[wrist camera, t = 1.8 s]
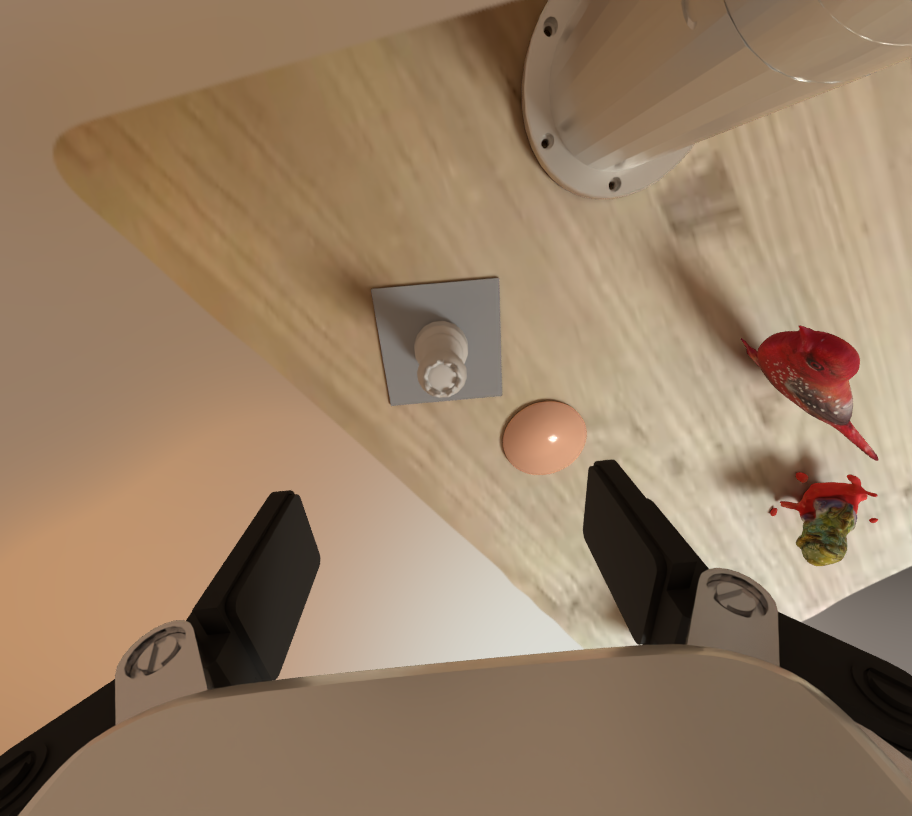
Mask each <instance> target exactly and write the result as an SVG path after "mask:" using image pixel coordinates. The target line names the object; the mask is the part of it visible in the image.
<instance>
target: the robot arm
mask: <svg viewBox="0 0 912 816" xmlns="http://www.w3.org/2000/svg"><path fill="white" fill-rule="evenodd" d="M544 30H548V31H549V32H550V37H548V36H546V35H545V33H544ZM909 58H912V0H548V2H547V4H546V6H545V7H544V9H543V11H542V13H541V15H540V17H539V20H538V22H537V24H536V27H535V29H534V31H533V34H532V37H531V40H530V44H529V47H528V51H527V54H526V57H525V63H524V70H523V77H522V112H523V119H524V125H525V130H526V133H527V136H528V139H529V142H530V145H531V148H532V150H533V152H534V154H535V156H536V158H537V160H538V161H539V163H540V165H541V166H542V168H543V169H544V170H545V171H546V172H547V174H548V175H549V176H550V177H551V178H552V179H553V180H554V181H555V182H556V183H558V184H559V185H560V186H562V187H563V188H564V189H565V190H568V191H570V192H572V193H574V194H576V195H578V196H581V197H586V198H591V199H614V198H618V197H623V196H627V195H630V194H633V193H636V192H638V191H641V190H644V189H645V188H647V187H649V186H650V185H652V184H654V183H656V182H657V181H659V180H660V179H662V178H663V177H664V176H665V175H666V174H668V173H669V172H670V171H671V170H672V169H674V168H675V167H676V166H677V165H678V164H679V163H680V161H681V160H682V159H683V158H684V157H685V156H686V155H687V154H688V152H689V151H690V150H691V149H692V147H693V146H694V144H695V143H697V142H700V141H703V140H705V139H708V138H710V137H713V136H715V135H718V134H720V133H723V132H725V131H728V130H731V129H733V128H736V127H738V126H741V125H743V124H746V123H748V122H751V121H754V120H756V119H759V118H761V117H764V116H766V115H769V114H771V113H774V112H777V111H779V110H782V109H784V108H787V107H789V106H792V105H794V104H797V103H800V102H802V101H805V100H807V99H810V98H812V97H815V96H817V95H820V94H822V93H825V92H828V91H830V90H833V89H835V88H838V87H840V86H843V85H845V84H848V83H851V82H853V81H856V80H858V79H861V78H863V77H866V76H868V75H871V74H873V73H875V72H877V71H879V70H882V69H884V68H887V67H889V66H892V65H894V64H897V63H899V62H902V61H904V60H907V59H909ZM543 140H544V141H546V142H547V148H543V147H542V146H541V142H542V141H543ZM609 182H611V183H612V189H611V190H610V189H609ZM583 534H584V538H585V541H586V543H587V545H588V547H589V549H590V551H591V553H592V555H593V557H594V559H595V561H596V563H597V565H598V567H599V570H600V572H601V574H602V576H603V578H604V580H605V582H606V584H607V586H608V588H609V590H610V592H611V594H612V596H613V598H614V600H615V602H616V604H617V606H618V608H619V610H620V612H621V614H622V616H623V618H624V620H625V622H626V624H627V626H628V628H629V630H630V632H631V635H632V637H633V638H634V640H635V642H636V643H637V644H639V645H638V646H625V647H611V648H597V649H584V650H574V651H563V652H553V653H541V654H530V655H520V656H510V657H497V658H487V659H477V660H466V661H457V662H446V663H436V664H425V665H415V666H406V667H395V668H385V669H376V670H366V671H356V672H346V673H337V674H327V675H318V676H309V677H298V678H290V679H282V680H276V678H277V677H278V676H279V674H280V671H281V669H282V666H283V663H284V661H285V658H286V655H287V652H288V650H289V647H290V644H291V642H292V639H293V636H294V633H295V631H296V628H297V625H298V622H299V620H300V617H301V615H302V612H303V609H304V606H305V604H306V601H307V598H308V596H309V593H310V590H311V587H312V585H313V582H314V579H315V577H316V574H317V571H318V569H319V565H320V554H319V551H318V548H317V545H316V542H315V539H314V536H313V533H312V530H311V527H310V525H309V521H308V519H307V516H306V513H305V510H304V507H303V504H302V501H301V498H300V496H299V495H297V494H294V492H293V491H291V490H289V491H279V492H272V493H271V494H270V495H269V497H268V498H267V500H266V501H265V503H264V504H263V506H262V507H261V509H260V510H259V511H258V513H257V515H256V516H255V517H254V519H253V520H252V522H251V523H250V525H249V526H248V528H247V529H246V531H245V532H244V534H243V535H242V537H241V538H240V540H239V541H238V543H237V544H236V546H235V547H234V549H233V550H232V552H231V553H230V555H229V556H228V558H227V559H226V561H225V562H224V563H223V565H222V567H221V568H220V569H219V571H218V572H217V574H216V575H215V577H214V578H213V580H212V582H211V583H210V584H209V586H208V587H207V589H206V590H205V592H204V593H203V595H202V596H201V598H200V599H199V601H198V603H197V604H196V605H195V607H194V608H193V610H192V613H191V614H190V616H189V617H188V618H187V620H186V621H184V620H176V621H171V622H168V623H165V624H163V625H160V626H158V627H157V628H154V629H153V630H151V631H150V632H148V633H147V634H145V635H144V636H142V637H141V638H140V639H139V640H138V641H137V642H135V643H134V644H133V645H132V646H131V647H130V648H129V650H128V651H127V652H126V653H125V654H124V656H123V657H122V659H121V661H120V662H119V664H118V666H117V670H116V674H115V679H114V680H113V681H111V682H110V683H108V684H107V685H105V686H104V687H102V688H101V689H99V690H98V691H96V692H95V693H93V694H92V695H90V696H89V697H87V698H86V699H84V700H83V701H81V702H80V703H79V704H77V705H75V706H74V707H72V708H71V709H69V710H68V711H66V712H65V713H63V714H62V715H60V716H59V717H57V718H56V719H54V720H53V721H51V722H50V723H48V724H47V725H45V726H44V727H42V728H41V729H39V730H37V731H36V732H34V733H33V734H31V735H30V736H28V737H27V738H25V739H24V740H23V741H21V742H20V743H18V744H16V745H15V746H13V747H12V748H10V749H9V750H8V751H6V752H5V753H4V754H2V755H1V756H0V816H912V676H911V675H910V674H908V673H907V672H906V671H904V670H902V669H900V668H898V667H896V666H894V665H893V664H891V663H889V662H887V661H885V660H882V659H880V658H878V657H876V656H874V655H872V654H869V653H867V652H865V651H863V650H860V649H858V648H856V647H854V646H852V645H850V644H847V643H845V642H843V641H841V640H838V639H836V638H834V637H832V636H830V635H828V634H826V633H823V632H821V631H819V630H816V629H814V628H812V627H810V626H808V625H806V624H804V623H801V622H799V621H797V620H795V619H793V618H790V617H788V616H786V615H784V614H782V613H780V612H778V610H777V606H776V603H775V601H774V600H773V598H772V597H771V595H770V594H769V593H768V592H767V591H766V590H765V589H764V588H763V587H762V586H761V585H760V584H758V583H757V582H755V581H754V580H752V579H751V578H750V577H747V576H745V575H743V574H741V573H739V572H736V571H732V570H729V569H722V568H713V569H708V567H707V566H706V565H705V564H704V562H703V561H702V560H701V559H700V558H699V556H698V555H697V554H696V553H695V552H694V550H693V549H692V548H691V547H690V546H689V544H688V543H687V542H686V541H685V540H684V538H683V537H682V536H681V535H680V534H679V532H678V531H677V530H676V529H675V527H674V526H673V525H672V524H671V523H670V521H669V520H668V519H667V518H666V517H665V515H664V514H663V513H662V512H661V511H660V509H659V508H658V507H657V506H656V505H655V503H654V502H653V501H651V500H650V499H647V498H646V497H645V496H644V495H643V494H642V493H641V491H640V490H639V489H638V488H637V486H636V485H635V484H634V483H633V481H632V480H631V479H630V478H629V477H628V475H627V474H626V473H625V472H624V470H623V469H622V468H621V467H620V465H619V464H618V463H617V462H616V461H615V460H603V461H596V462H595V463H594V466H590V467H589V470H588V480H587V491H586V502H585V513H584V523H583ZM640 644H643V645H640ZM272 680H273V681H272Z"/></svg>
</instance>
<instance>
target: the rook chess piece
mask: <svg viewBox="0 0 912 816" xmlns="http://www.w3.org/2000/svg"><path fill="white" fill-rule="evenodd" d="M414 349H415V357H416V360H417V362H418V363H419V367H418V371H417V376H418V382H419V384H420V385H421V387H422V389H423V390H424V391H426V392H427V393H428V394H430V395H432V396H434V397H437V398H442V397H450V396H452V395H454V394H456V393H458V392H459V391H460V389H461V388H462V387H463V386H464V384H465V381H466V378H467V372H466V367H465V365H464V364H465V361H466V358H467V356H468V341H467V339H466V337H465V335H464V333H463V331H462V330H461V329H460V328H458V327H457V326H456V325H455V324H452V323H449V322H446V321H436V322H432V323H430V324H428V325H426V326H424V327H423V328H422V330H421V331H420V332H419V333H418V334H417V337H416V340H415V344H414Z"/></svg>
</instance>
